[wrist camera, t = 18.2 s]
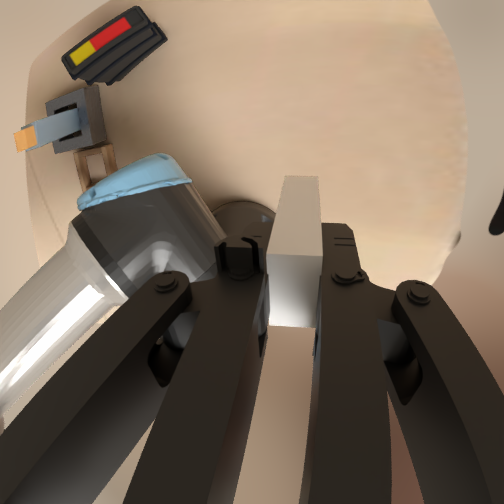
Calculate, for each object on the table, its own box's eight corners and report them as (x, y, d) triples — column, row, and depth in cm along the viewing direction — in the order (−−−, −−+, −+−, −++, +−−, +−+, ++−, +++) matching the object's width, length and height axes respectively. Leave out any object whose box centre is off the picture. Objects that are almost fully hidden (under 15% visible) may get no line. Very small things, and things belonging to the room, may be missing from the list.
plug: (91, 125, 43) (30, 151, 31) (76, 130, 44) (16, 156, 31) (88, 104, 41) (25, 125, 29) (72, 109, 42) (11, 131, 29)
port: (106, 139, 44) (92, 145, 41) (68, 147, 46) (54, 154, 43) (98, 85, 39) (83, 87, 35) (59, 99, 41) (45, 103, 37)
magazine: (92, 80, 37) (57, 57, 23) (160, 35, 37) (150, -6, 23) (102, 96, 38) (69, 77, 24) (171, 50, 38) (165, 13, 24)
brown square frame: (120, 185, 49) (114, 190, 47) (89, 188, 50) (83, 193, 49) (111, 143, 44) (105, 146, 43) (80, 150, 46) (73, 153, 44)
